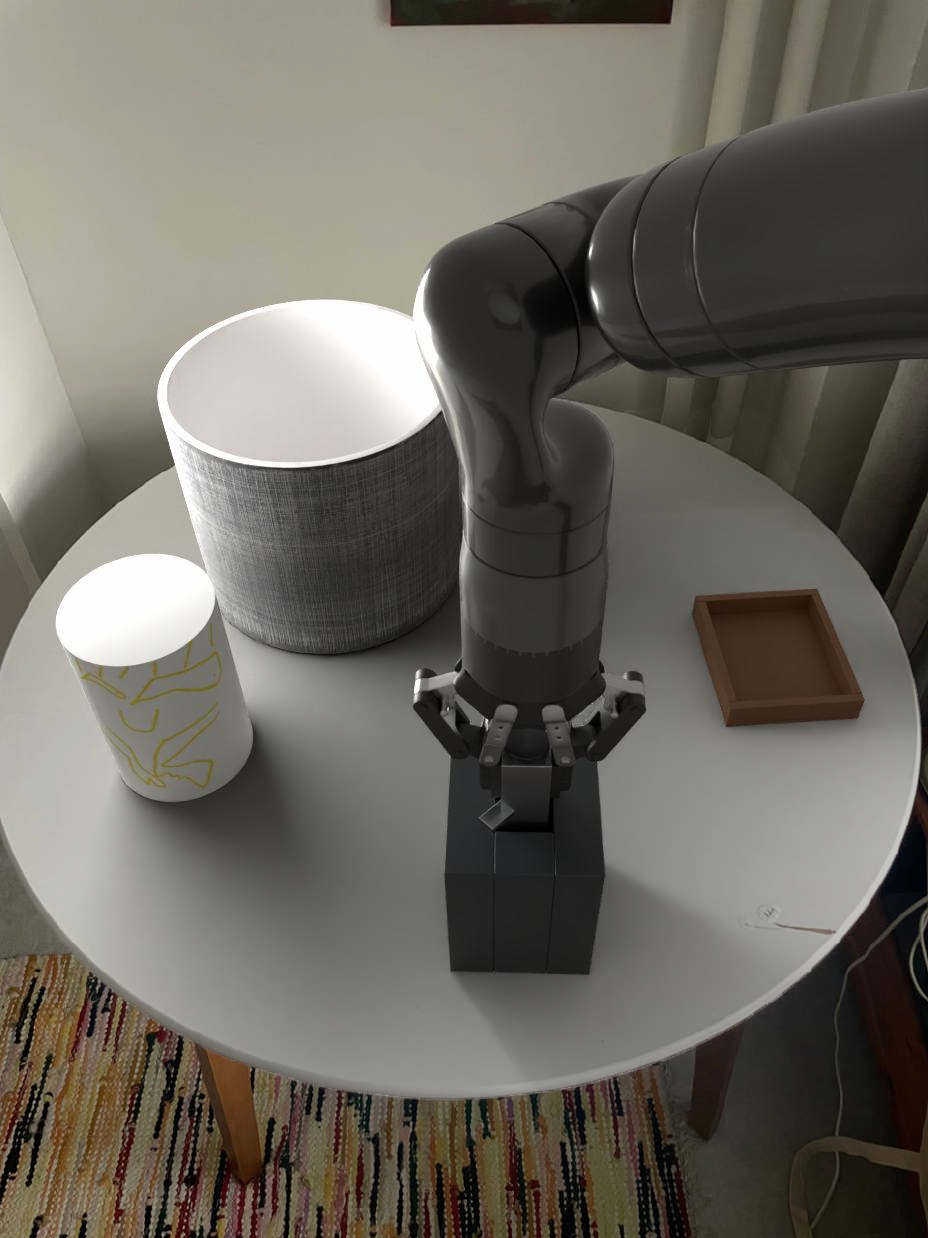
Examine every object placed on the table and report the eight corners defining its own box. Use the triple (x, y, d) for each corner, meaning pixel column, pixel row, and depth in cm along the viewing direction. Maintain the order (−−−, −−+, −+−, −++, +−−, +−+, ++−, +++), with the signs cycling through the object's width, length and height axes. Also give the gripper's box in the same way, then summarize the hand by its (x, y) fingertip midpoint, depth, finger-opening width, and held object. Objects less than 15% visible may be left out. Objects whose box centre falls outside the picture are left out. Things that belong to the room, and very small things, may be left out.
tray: (858, 718, 89) (865, 700, 87) (725, 727, 89) (730, 709, 87) (811, 606, 98) (817, 588, 97) (691, 613, 98) (695, 595, 96)
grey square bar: (561, 830, 74) (572, 703, 64) (564, 903, 70) (576, 780, 60) (482, 829, 74) (480, 702, 64) (480, 901, 71) (478, 779, 60)
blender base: (582, 852, 80) (596, 745, 70) (589, 975, 74) (605, 876, 63) (455, 849, 81) (450, 743, 71) (450, 972, 74) (444, 873, 64)
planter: (188, 660, 95) (127, 471, 79) (229, 485, 112) (186, 301, 96) (463, 655, 95) (457, 464, 79) (461, 481, 112) (456, 296, 96)
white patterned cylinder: (115, 813, 84) (50, 678, 71) (118, 705, 91) (60, 566, 79) (257, 787, 85) (218, 651, 73) (248, 683, 93) (211, 543, 81)
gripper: (390, 647, 51) (411, 835, 63) (678, 650, 50) (641, 839, 63) (402, 544, 56) (419, 737, 68) (662, 546, 55) (631, 740, 68)
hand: (525, 785), depth 65 cm, fingers closed on grey square bar, 3 cm apart
